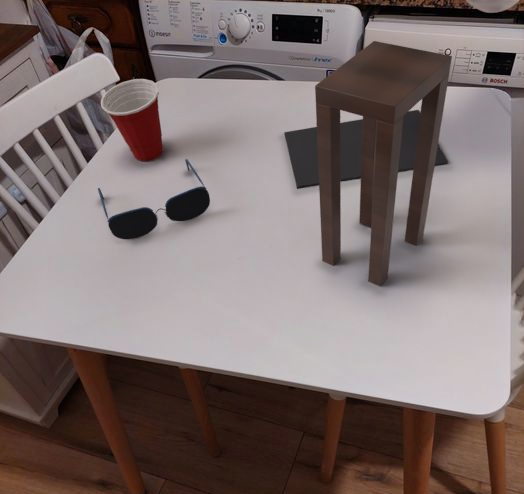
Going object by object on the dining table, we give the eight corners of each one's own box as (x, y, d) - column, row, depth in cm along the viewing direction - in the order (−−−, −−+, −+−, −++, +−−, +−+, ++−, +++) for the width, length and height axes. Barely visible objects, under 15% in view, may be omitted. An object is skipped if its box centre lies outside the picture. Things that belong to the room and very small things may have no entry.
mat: (418, 111, 98) (418, 109, 98) (447, 163, 87) (448, 161, 87) (284, 134, 99) (284, 132, 99) (297, 188, 88) (296, 186, 88)
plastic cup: (111, 166, 100) (87, 106, 91) (139, 136, 106) (119, 76, 96) (158, 173, 96) (138, 111, 87) (185, 141, 102) (168, 80, 93)
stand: (366, 216, 82) (374, 40, 61) (423, 238, 77) (452, 55, 57) (322, 260, 77) (314, 85, 56) (380, 286, 72) (395, 106, 52)
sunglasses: (117, 245, 85) (105, 219, 81) (105, 207, 95) (94, 182, 92) (214, 211, 87) (206, 185, 84) (192, 178, 97) (185, 153, 94)
